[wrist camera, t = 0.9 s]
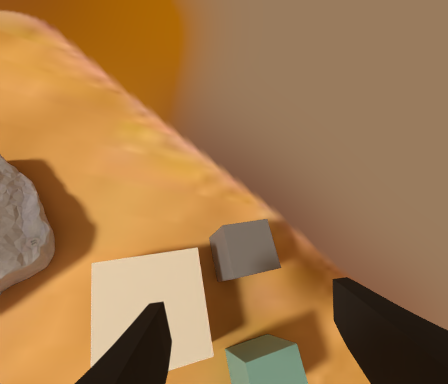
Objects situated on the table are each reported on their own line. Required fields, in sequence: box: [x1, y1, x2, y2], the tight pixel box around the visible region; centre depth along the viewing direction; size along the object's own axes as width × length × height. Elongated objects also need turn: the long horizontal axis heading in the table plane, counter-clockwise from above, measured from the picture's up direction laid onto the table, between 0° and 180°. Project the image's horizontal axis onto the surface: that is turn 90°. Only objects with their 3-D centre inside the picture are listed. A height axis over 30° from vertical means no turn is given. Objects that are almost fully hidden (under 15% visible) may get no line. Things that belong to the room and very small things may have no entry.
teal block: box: [225, 334, 308, 384], centre depth 19 cm, size 4×4×5 cm
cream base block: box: [91, 248, 214, 371], centre depth 19 cm, size 8×8×4 cm
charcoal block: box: [209, 219, 281, 282], centre depth 22 cm, size 4×4×5 cm
